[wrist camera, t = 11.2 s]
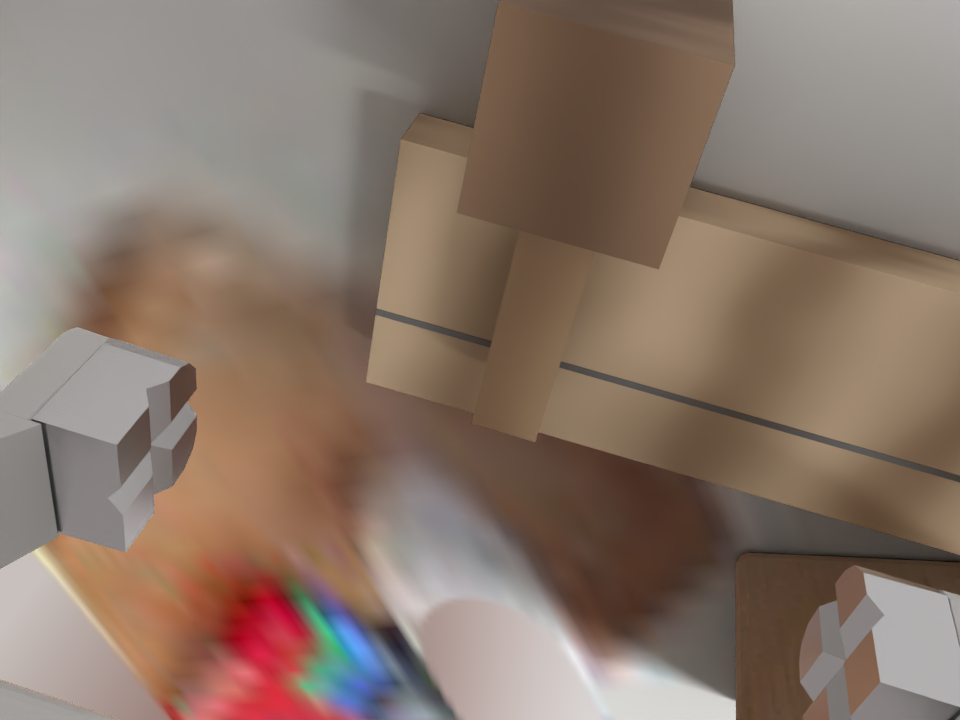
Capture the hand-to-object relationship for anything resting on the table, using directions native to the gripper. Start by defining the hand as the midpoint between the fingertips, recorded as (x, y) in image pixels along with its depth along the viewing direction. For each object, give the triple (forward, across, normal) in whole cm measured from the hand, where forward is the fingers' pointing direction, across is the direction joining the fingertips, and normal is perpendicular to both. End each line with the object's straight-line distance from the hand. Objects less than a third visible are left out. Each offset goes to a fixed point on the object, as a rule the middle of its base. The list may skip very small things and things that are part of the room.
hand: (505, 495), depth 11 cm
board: (+17, -7, +8) cm, 20 cm away
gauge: (+17, 0, +4) cm, 18 cm away
